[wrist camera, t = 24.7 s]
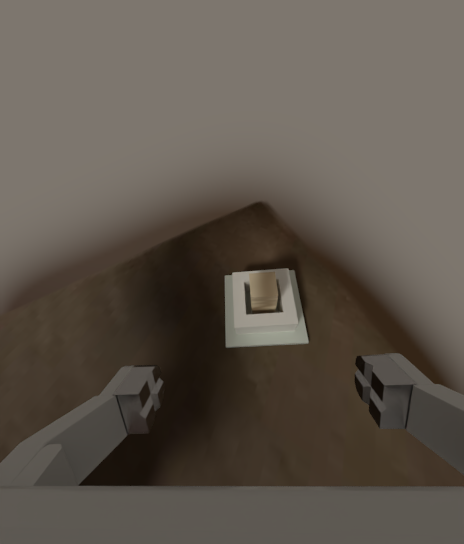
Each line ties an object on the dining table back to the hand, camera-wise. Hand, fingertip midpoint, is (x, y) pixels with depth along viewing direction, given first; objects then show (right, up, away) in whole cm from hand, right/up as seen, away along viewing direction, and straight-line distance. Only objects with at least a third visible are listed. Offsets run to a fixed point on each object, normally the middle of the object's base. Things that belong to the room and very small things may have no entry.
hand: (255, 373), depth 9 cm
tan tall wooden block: (+5, -2, +31) cm, 31 cm away
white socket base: (+5, -3, +32) cm, 32 cm away
